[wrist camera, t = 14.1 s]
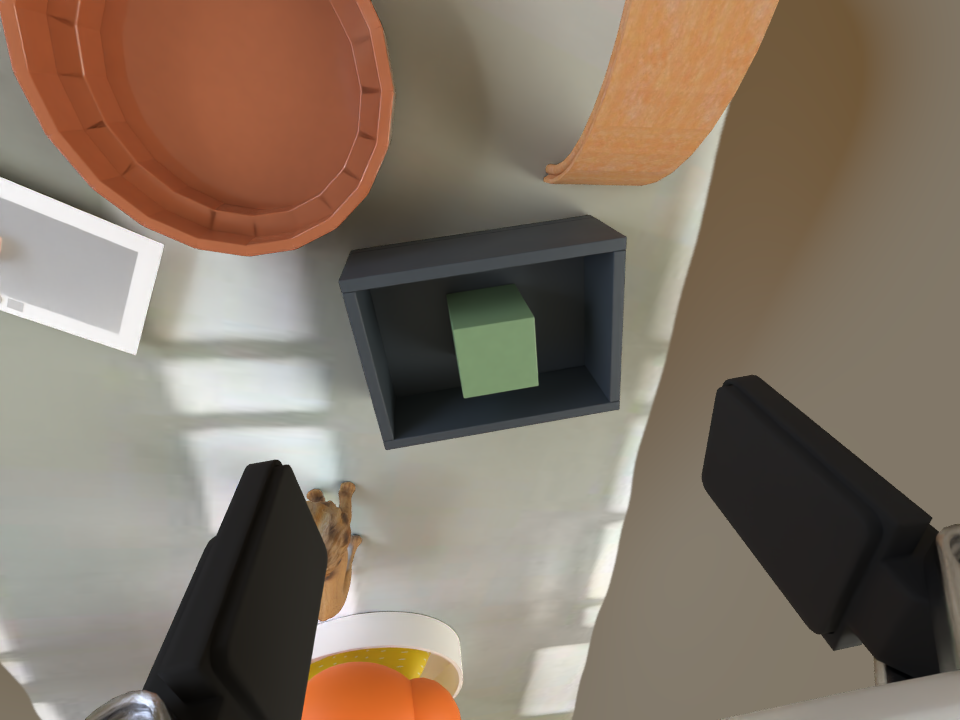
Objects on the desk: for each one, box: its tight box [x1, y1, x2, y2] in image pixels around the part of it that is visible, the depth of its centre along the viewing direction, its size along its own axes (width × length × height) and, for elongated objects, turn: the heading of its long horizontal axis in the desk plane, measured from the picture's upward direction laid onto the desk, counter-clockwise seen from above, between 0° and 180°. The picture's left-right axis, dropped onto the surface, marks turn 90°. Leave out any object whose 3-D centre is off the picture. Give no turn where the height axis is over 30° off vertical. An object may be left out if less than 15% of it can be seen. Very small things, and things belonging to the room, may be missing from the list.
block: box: [446, 284, 539, 398], centre depth 29 cm, size 5×5×6 cm
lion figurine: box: [306, 482, 362, 621], centre depth 36 cm, size 15×5×9 cm, turn 4°
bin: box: [339, 215, 627, 450], centre depth 30 cm, size 11×15×6 cm
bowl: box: [0, 0, 396, 256], centre depth 22 cm, size 16×16×4 cm
